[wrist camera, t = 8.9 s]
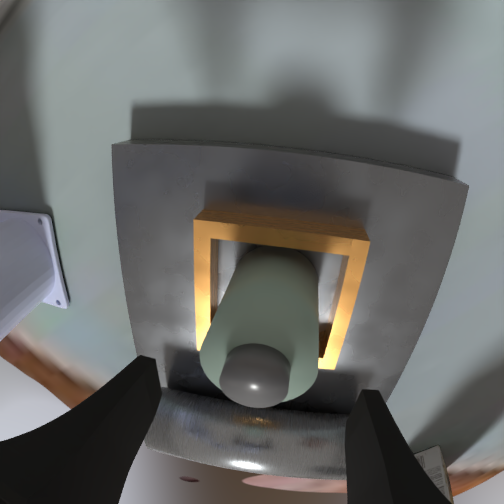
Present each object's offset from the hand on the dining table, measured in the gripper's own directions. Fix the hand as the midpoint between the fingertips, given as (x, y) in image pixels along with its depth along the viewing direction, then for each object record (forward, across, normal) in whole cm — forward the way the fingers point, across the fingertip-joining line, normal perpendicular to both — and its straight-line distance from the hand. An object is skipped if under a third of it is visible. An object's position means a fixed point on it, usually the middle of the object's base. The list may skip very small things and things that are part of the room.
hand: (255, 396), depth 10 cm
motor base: (+9, 0, +4) cm, 10 cm away
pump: (+7, 0, 0) cm, 7 cm away
